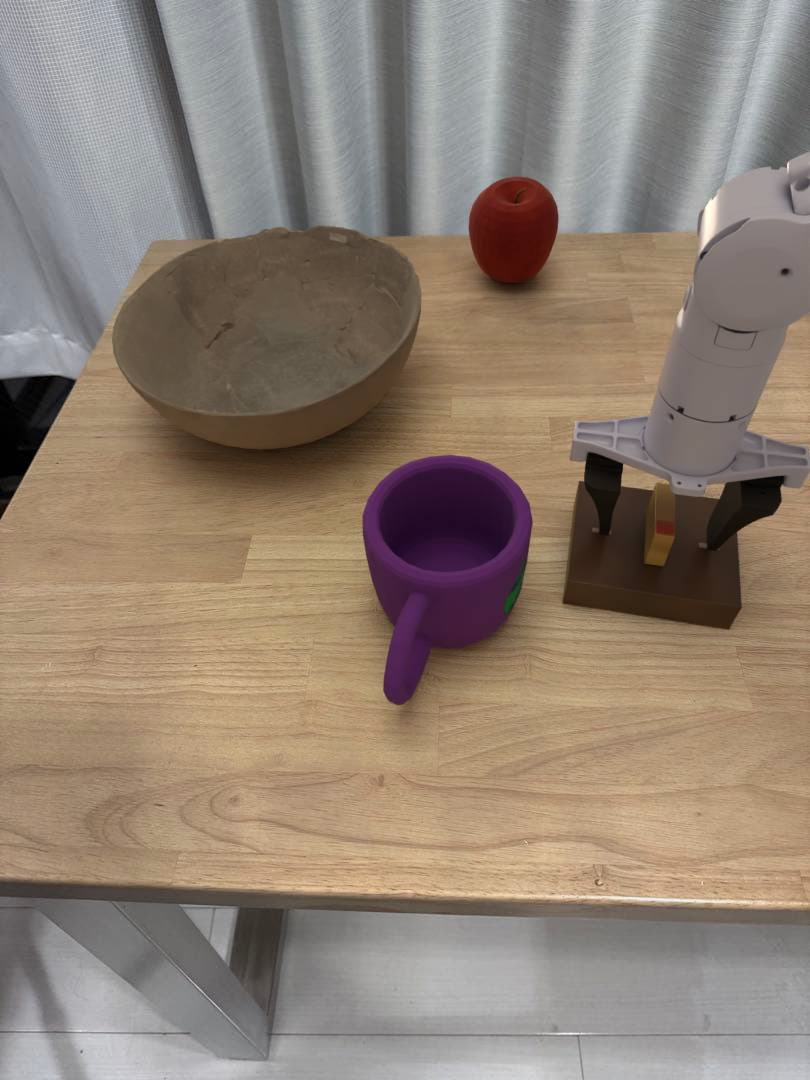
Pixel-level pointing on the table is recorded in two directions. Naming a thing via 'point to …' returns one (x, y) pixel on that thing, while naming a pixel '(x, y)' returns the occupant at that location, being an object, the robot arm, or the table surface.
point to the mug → (443, 558)
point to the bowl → (271, 334)
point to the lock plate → (649, 590)
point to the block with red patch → (659, 525)
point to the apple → (513, 229)
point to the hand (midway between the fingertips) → (657, 532)
